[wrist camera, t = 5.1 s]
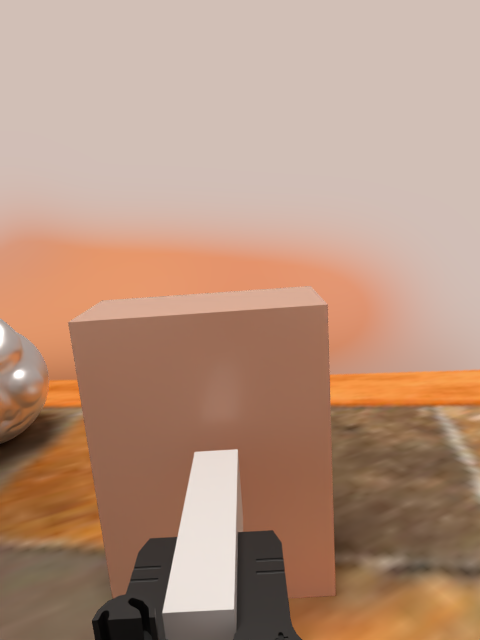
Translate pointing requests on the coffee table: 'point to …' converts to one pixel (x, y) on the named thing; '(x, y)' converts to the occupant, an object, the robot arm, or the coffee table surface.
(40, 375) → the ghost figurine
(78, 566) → the coffee table surface
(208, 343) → the peach rectangular block
